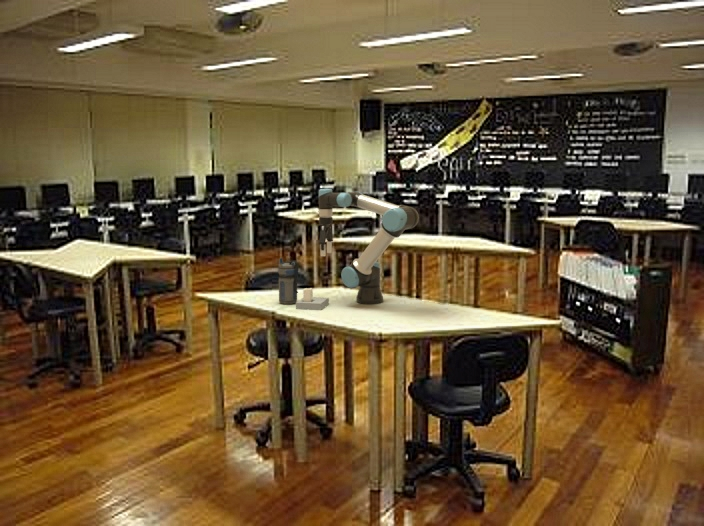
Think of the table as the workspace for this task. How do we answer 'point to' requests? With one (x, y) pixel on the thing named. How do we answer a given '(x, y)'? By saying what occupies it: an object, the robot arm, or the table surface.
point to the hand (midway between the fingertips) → (326, 254)
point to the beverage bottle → (288, 281)
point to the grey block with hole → (313, 303)
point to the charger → (308, 294)
